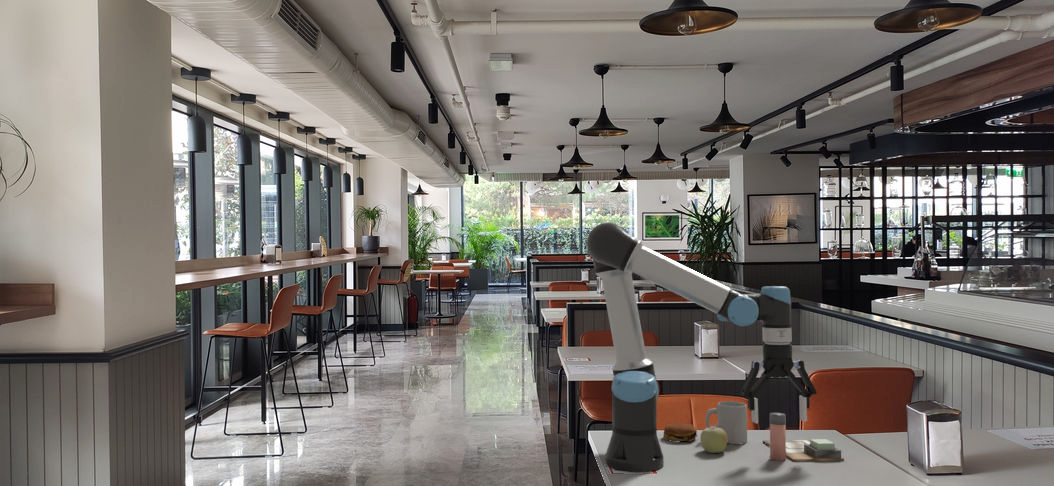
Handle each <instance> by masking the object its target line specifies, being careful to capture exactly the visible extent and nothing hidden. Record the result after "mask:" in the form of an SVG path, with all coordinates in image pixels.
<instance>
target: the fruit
mask: <svg viewBox="0 0 1054 486" xmlns="http://www.w3.org/2000/svg"><path fill="white" fill-rule="evenodd" d="M712 426H713V427H709V428H707V427H706V428H704V429H703V430H702V431H701V433H700V443H701V446H702V448H703V449H704V450H705V451H706V452H707V453H709V454H716V453H717V454H718V453H721V452H724V451H725V449H726V448H727V446H728V444H727V441H728V439H727V434H726V432H725V431H724V430H723V429H721V428H717V427H714V426H716V423H714V424H712Z"/></svg>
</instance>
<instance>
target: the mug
mask: <svg viewBox="0 0 1054 486" xmlns="http://www.w3.org/2000/svg"><path fill="white" fill-rule="evenodd" d="M716 407H717V408H716ZM716 407H713V408H710V409H708V410H707V411H706V415H705V425H706V428H709V427H713V425H711V424H710V417H711V415H714V414H715V415H716V416H717V425H714V427H717V428H721V429H723V430H724V431H725V432H726V434H727V439H728V441H727V443H730V444H729V445H740V444H739V443H745V442H747V443H748V404H746V403H744V402H739V401H729V400H727V401H719V402H718V403H717V406H716ZM745 444H746V443H745Z"/></svg>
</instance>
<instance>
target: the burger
mask: <svg viewBox="0 0 1054 486" xmlns="http://www.w3.org/2000/svg"><path fill="white" fill-rule="evenodd" d="M697 431H698V430H697V429H696V427H695V425H694V424H692V423H686V422H685V423H683V422H672V423H669V424H666V425H665V427H664V428H663V439H664V438H665V440H666V439H667V440H666V441H668V440H671V441H689V442H692V441H694V440H696V437H698V433H697ZM671 441H670V442H671Z"/></svg>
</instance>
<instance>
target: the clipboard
mask: <svg viewBox="0 0 1054 486" xmlns="http://www.w3.org/2000/svg"><path fill="white" fill-rule="evenodd" d="M763 442H765V443H766V444H767V445H766V444H765V443H764V444H765V445H766V446H768V445H769V446H770V439H769V440H768V439H767V440H762V443H763ZM769 446H768V447H769ZM786 459H789V460H791V461H792V462H796V463H797V462H834V461H835V462H836V461H837V460H844V461H845V458H844V457H843V456H842V450H841V449H839V448H837V447H836V446H835V450H817V449H815V448H813V447H811V446H810V439H786ZM837 462H838V461H837Z"/></svg>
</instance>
